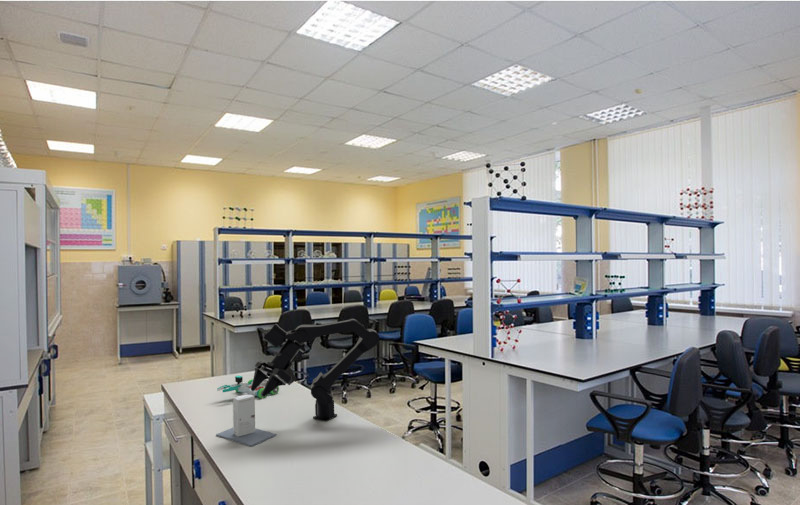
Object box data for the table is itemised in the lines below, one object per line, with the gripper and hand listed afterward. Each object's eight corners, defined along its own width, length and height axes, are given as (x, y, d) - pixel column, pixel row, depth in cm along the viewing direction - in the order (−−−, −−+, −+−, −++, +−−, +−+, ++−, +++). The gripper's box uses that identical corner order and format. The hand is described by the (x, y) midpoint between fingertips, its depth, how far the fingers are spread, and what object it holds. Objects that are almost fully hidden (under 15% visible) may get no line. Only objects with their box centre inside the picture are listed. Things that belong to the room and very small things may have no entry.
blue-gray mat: (276, 435, 147) (276, 433, 147) (251, 446, 139) (251, 445, 139) (241, 425, 157) (241, 424, 157) (216, 435, 149) (216, 434, 149)
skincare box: (238, 437, 145) (237, 400, 145) (232, 433, 149) (231, 397, 149) (256, 432, 149) (255, 395, 150) (250, 428, 153) (249, 393, 153)
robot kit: (209, 400, 188) (208, 378, 188) (259, 385, 208) (258, 365, 208) (235, 408, 177) (235, 384, 177) (285, 391, 197) (284, 370, 198)
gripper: (313, 372, 157) (285, 411, 149) (288, 364, 171) (262, 399, 163) (292, 353, 151) (262, 393, 144) (268, 347, 165) (240, 383, 158)
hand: (257, 393), depth 153 cm, fingers open, 9 cm apart
